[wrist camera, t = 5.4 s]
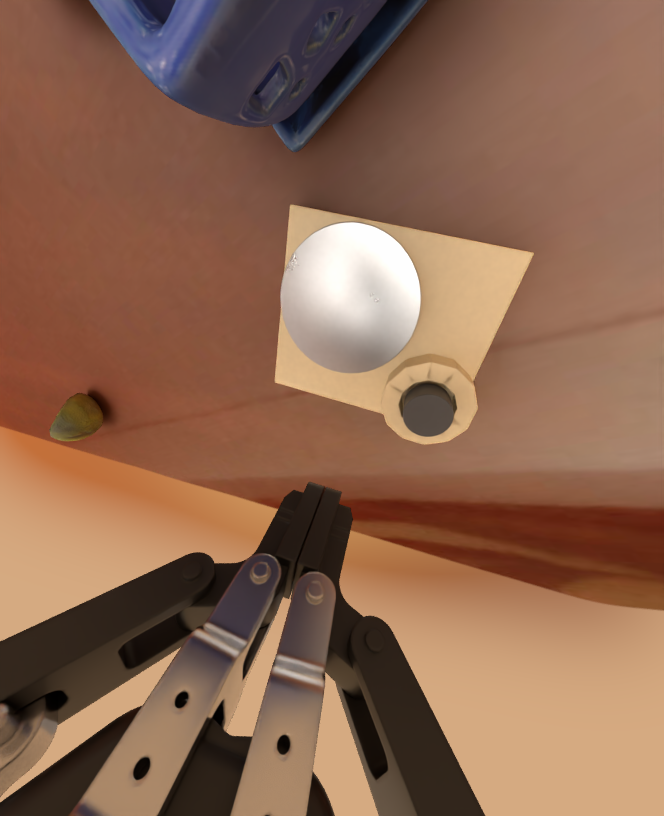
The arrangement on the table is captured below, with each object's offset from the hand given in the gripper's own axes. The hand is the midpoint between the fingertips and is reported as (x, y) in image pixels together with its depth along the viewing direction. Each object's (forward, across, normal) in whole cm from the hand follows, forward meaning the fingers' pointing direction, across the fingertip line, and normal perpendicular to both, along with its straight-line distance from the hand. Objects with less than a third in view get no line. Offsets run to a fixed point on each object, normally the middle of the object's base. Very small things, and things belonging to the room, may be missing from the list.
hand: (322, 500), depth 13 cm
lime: (+13, +28, +11) cm, 33 cm away
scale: (+12, 0, -5) cm, 13 cm away
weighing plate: (+9, +2, -6) cm, 11 cm away
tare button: (+9, -5, -1) cm, 10 cm away
